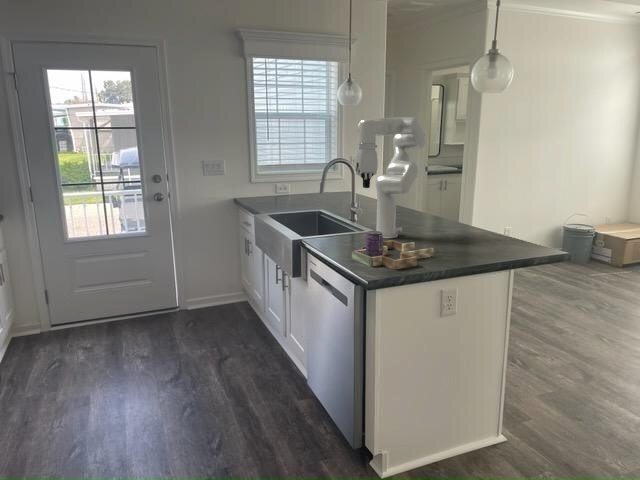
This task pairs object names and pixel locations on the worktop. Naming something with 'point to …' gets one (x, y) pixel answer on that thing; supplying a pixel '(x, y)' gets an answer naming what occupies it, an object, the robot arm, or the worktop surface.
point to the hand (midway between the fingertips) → (366, 187)
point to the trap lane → (405, 259)
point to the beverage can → (374, 243)
